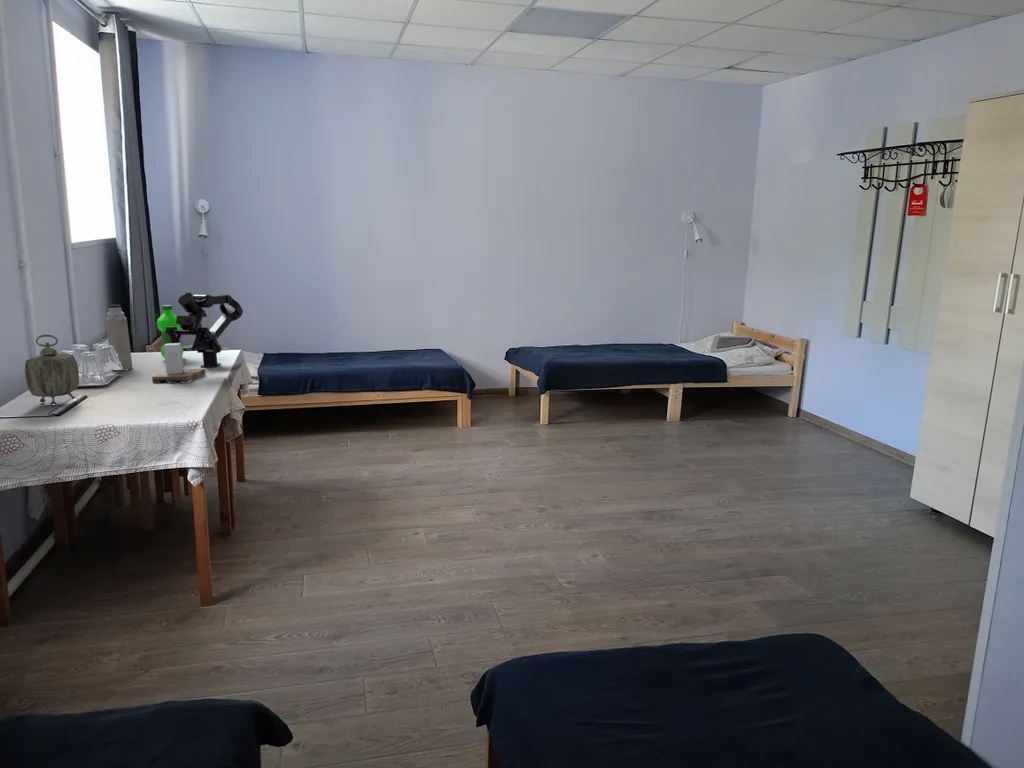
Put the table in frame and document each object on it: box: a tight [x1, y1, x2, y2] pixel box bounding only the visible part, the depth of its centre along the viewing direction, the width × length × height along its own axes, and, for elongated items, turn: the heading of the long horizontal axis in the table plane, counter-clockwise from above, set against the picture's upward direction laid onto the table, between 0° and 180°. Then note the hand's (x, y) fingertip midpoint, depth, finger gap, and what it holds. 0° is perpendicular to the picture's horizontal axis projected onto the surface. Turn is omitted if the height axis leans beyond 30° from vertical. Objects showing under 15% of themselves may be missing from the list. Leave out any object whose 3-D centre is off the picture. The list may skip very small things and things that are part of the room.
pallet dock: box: [151, 367, 206, 383], centre depth 304 cm, size 16×14×2 cm
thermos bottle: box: [105, 304, 134, 371], centre depth 321 cm, size 8×8×28 cm
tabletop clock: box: [24, 334, 80, 406], centre depth 262 cm, size 14×9×25 cm, turn 100°
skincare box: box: [163, 342, 185, 374], centre depth 302 cm, size 6×4×12 cm
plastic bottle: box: [156, 304, 184, 359], centre depth 341 cm, size 10×10×25 cm
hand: (182, 349), depth 307 cm, fingers open, 9 cm apart
